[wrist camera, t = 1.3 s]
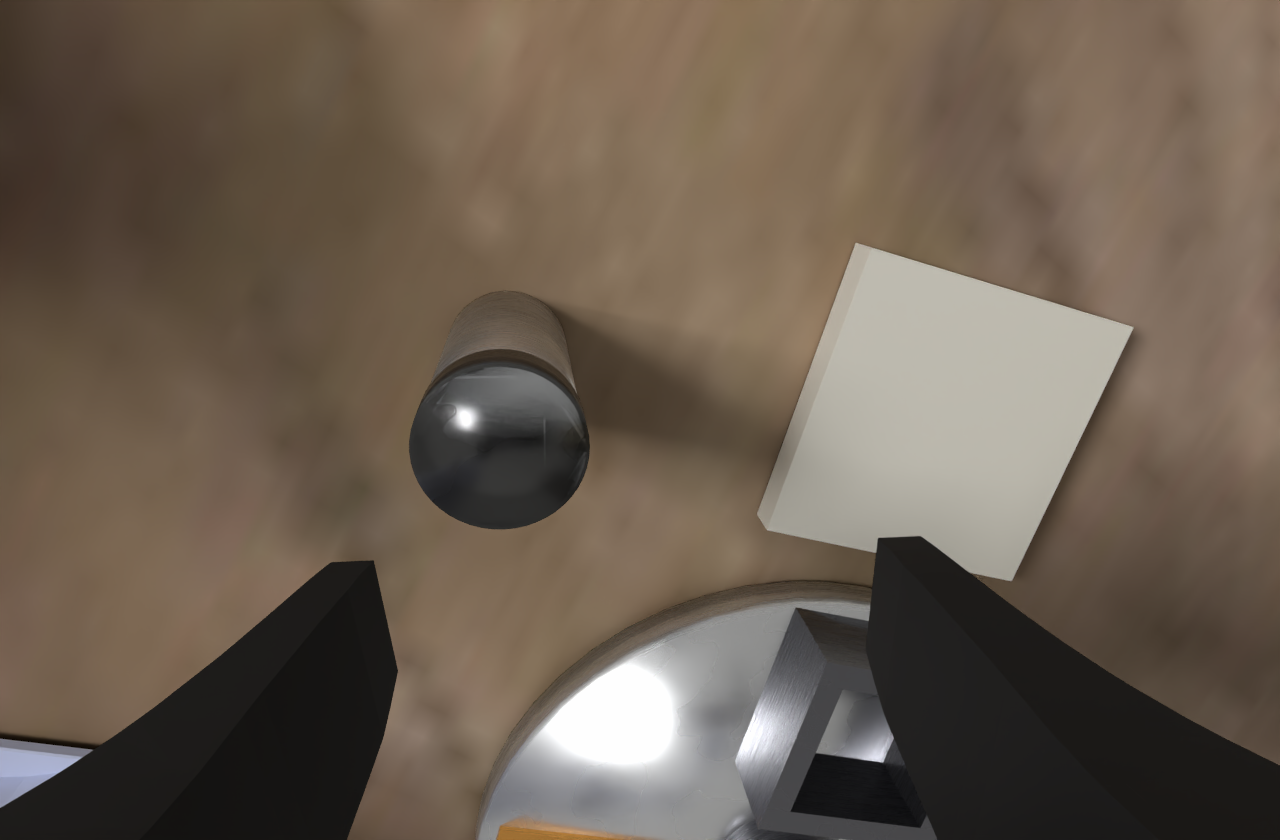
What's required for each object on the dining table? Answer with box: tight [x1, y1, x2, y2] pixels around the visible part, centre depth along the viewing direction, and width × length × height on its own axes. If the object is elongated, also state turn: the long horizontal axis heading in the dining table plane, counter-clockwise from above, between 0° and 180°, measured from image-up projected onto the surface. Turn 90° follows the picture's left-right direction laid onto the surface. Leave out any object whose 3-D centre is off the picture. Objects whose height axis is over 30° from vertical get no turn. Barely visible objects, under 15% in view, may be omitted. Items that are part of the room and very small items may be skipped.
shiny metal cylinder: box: [409, 291, 590, 529], centre depth 17 cm, size 3×3×7 cm
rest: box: [757, 243, 1134, 581], centre depth 22 cm, size 8×8×1 cm
